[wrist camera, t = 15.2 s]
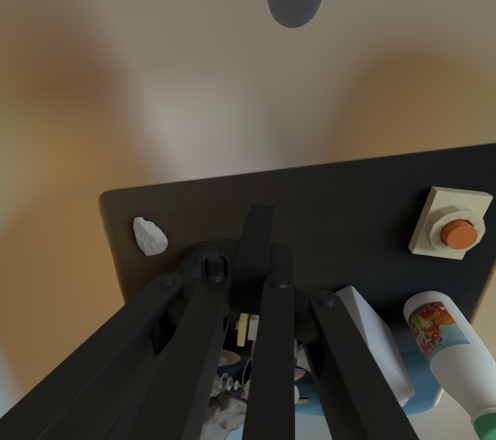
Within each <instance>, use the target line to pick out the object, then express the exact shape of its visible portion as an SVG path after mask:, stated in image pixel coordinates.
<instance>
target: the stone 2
mask: <svg viewBox="0 0 496 440" xmlns="http://www.w3.org/2000/svg"><path fill="white" fill-rule="evenodd" d="M246 407H247V401H246V400H244V399H241V398H238V397H237V396H233V395H232V394H230V393H229V392H228V390H225V391H223V392H221V393H220V395H216V396H215V397H214V396H212V397H210V400H209V404H208V408H207V412H206V416H205V420H204V424H203V428H202V432H201V436H200V440H225V438H226V437H227V436H228V435H229V434H230V433H231V432H232V431H234V430H237V429H238V428H239V427H241V426H243V425H244V421H245V414H246Z"/></svg>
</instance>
